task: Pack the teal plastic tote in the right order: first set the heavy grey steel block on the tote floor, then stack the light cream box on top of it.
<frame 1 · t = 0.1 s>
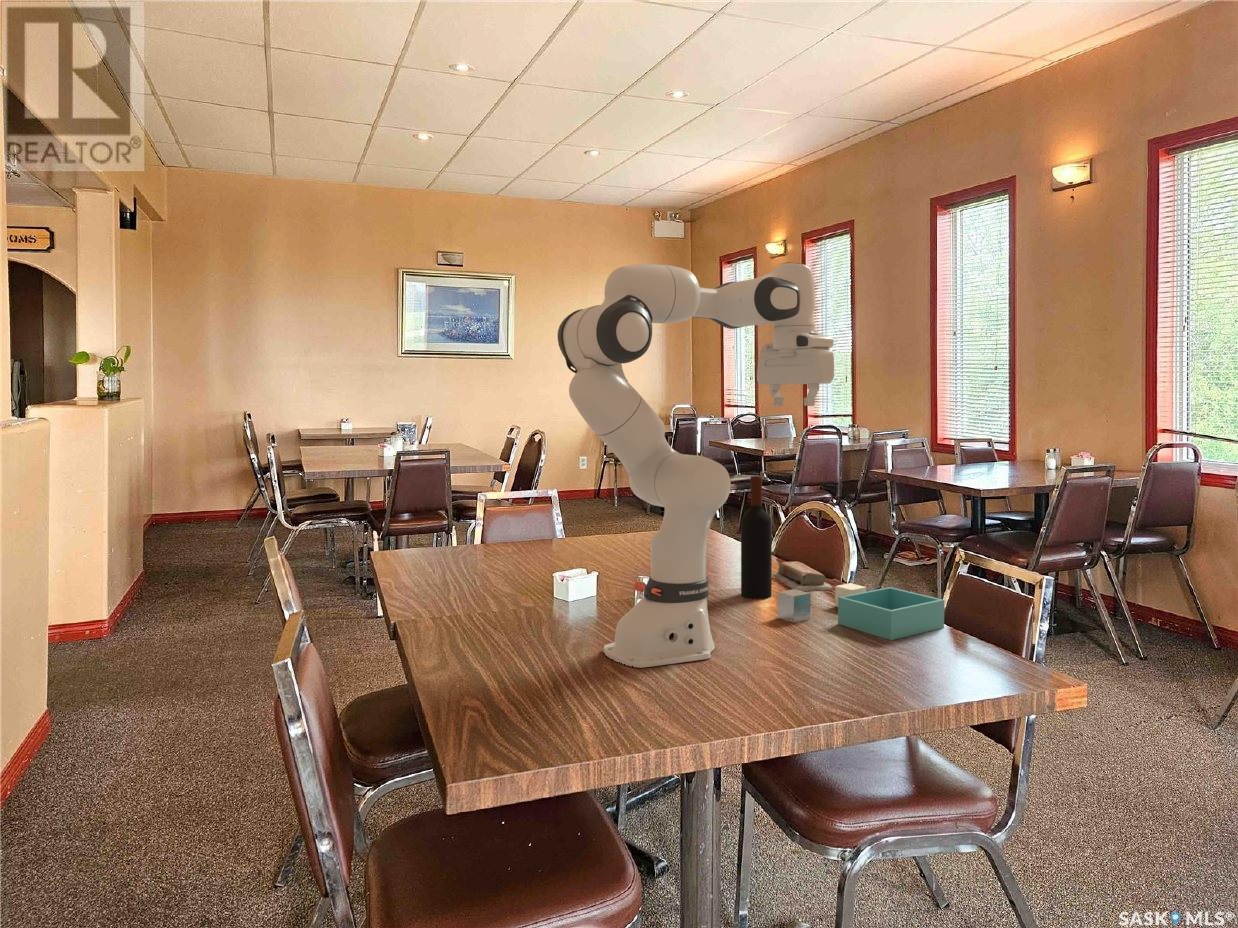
hand: (793, 405, 180), 48 cm above the table, tool pointing down, fingers open, 8 cm apart
steel block: (794, 618, 188), on the table
packaged product: (801, 585, 223), on the table
tote: (890, 625, 182), on the table
cream box: (850, 607, 198), on the table
wine bottle: (756, 596, 210), on the table
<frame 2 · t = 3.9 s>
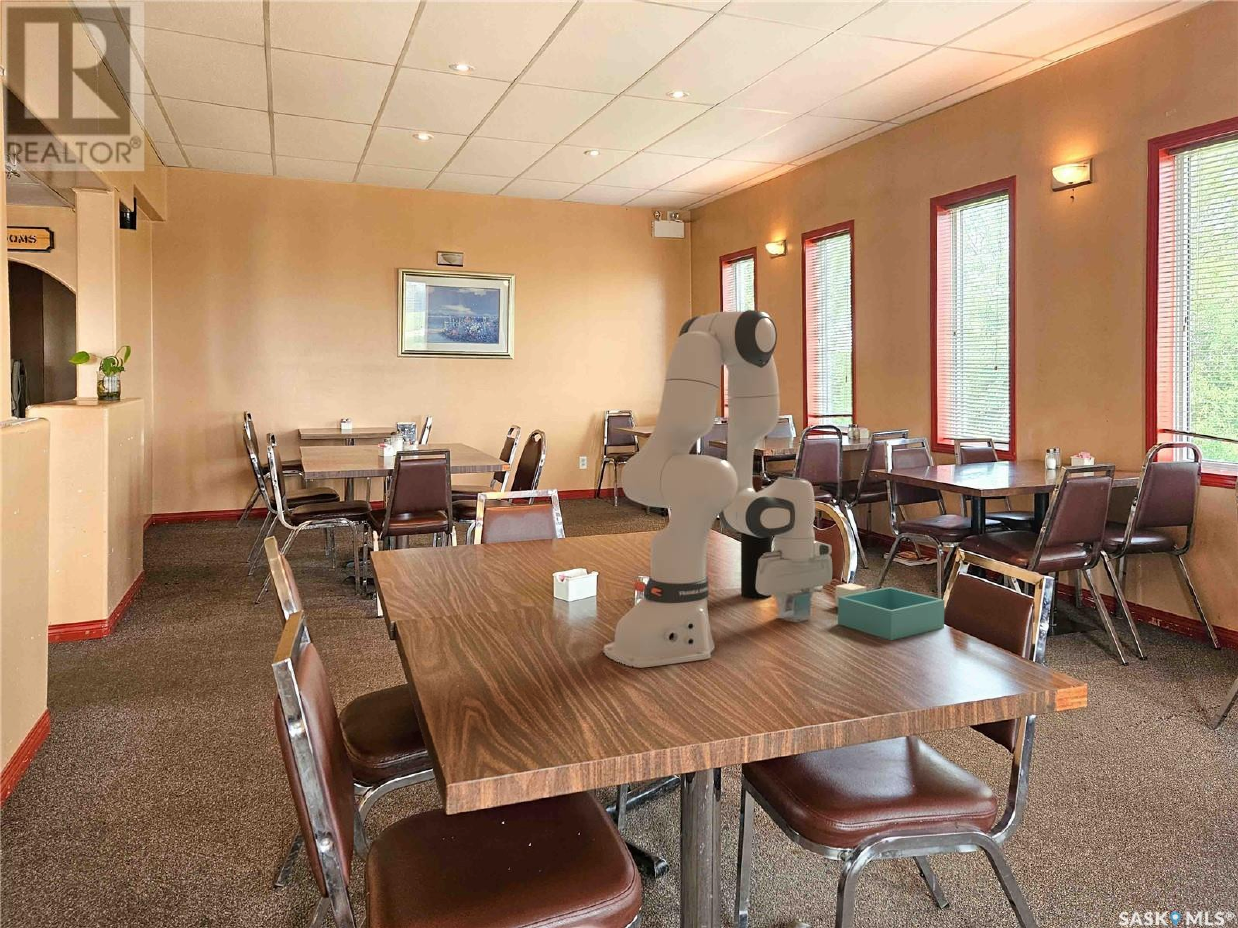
hand: (794, 609, 188), 2 cm above the table, tool pointing down, fingers closed on steel block, 5 cm apart
steel block: (794, 618, 188), on the table, touching gripper
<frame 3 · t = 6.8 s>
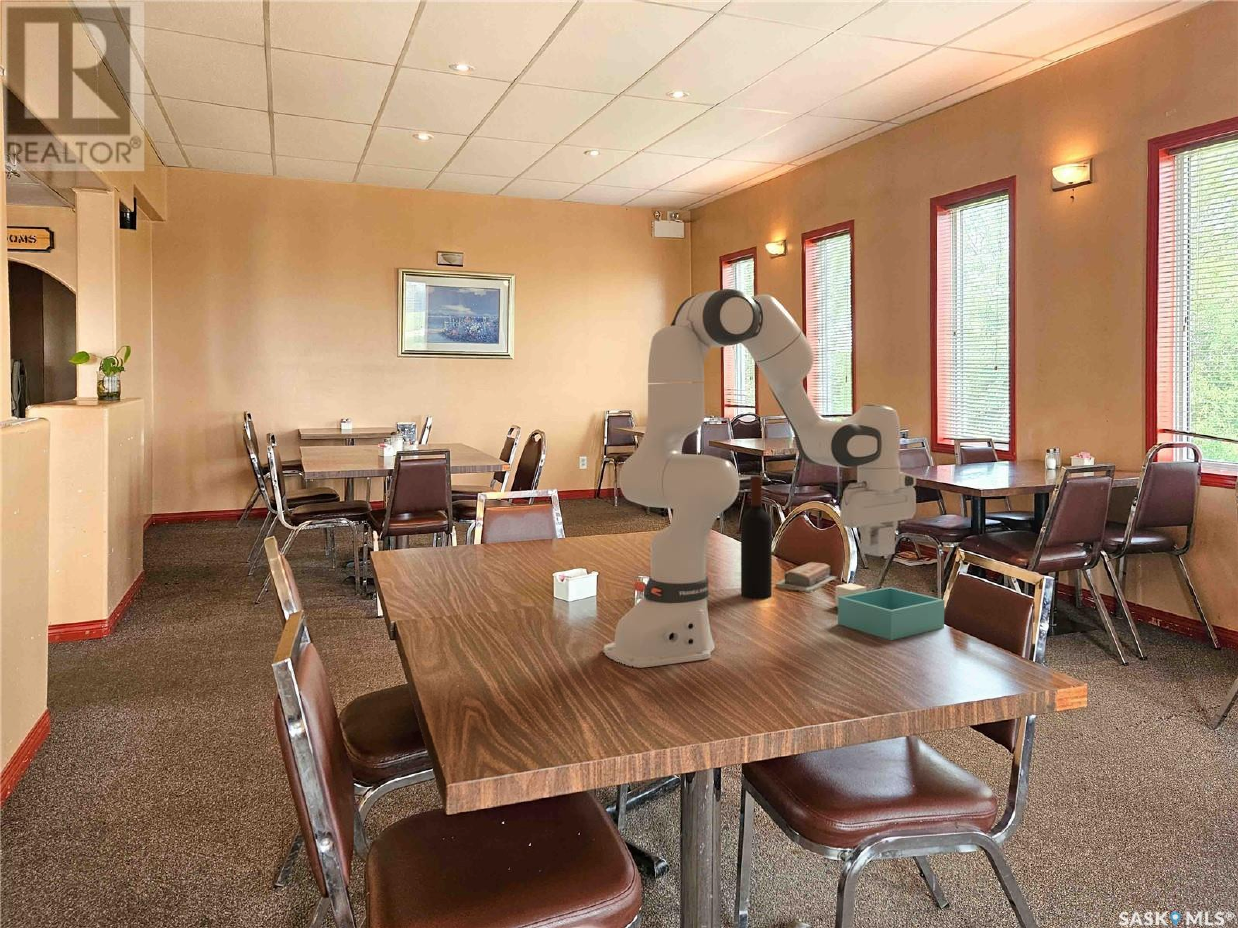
hand: (878, 543, 181), 18 cm above the table, tool pointing down, fingers closed on steel block, 5 cm apart
steel block: (877, 553, 182), point 16 cm above the table, touching gripper
when the fingers open (5 cm above the table, at t = 9.8 s): steel block drops 2 cm, resting on tote.
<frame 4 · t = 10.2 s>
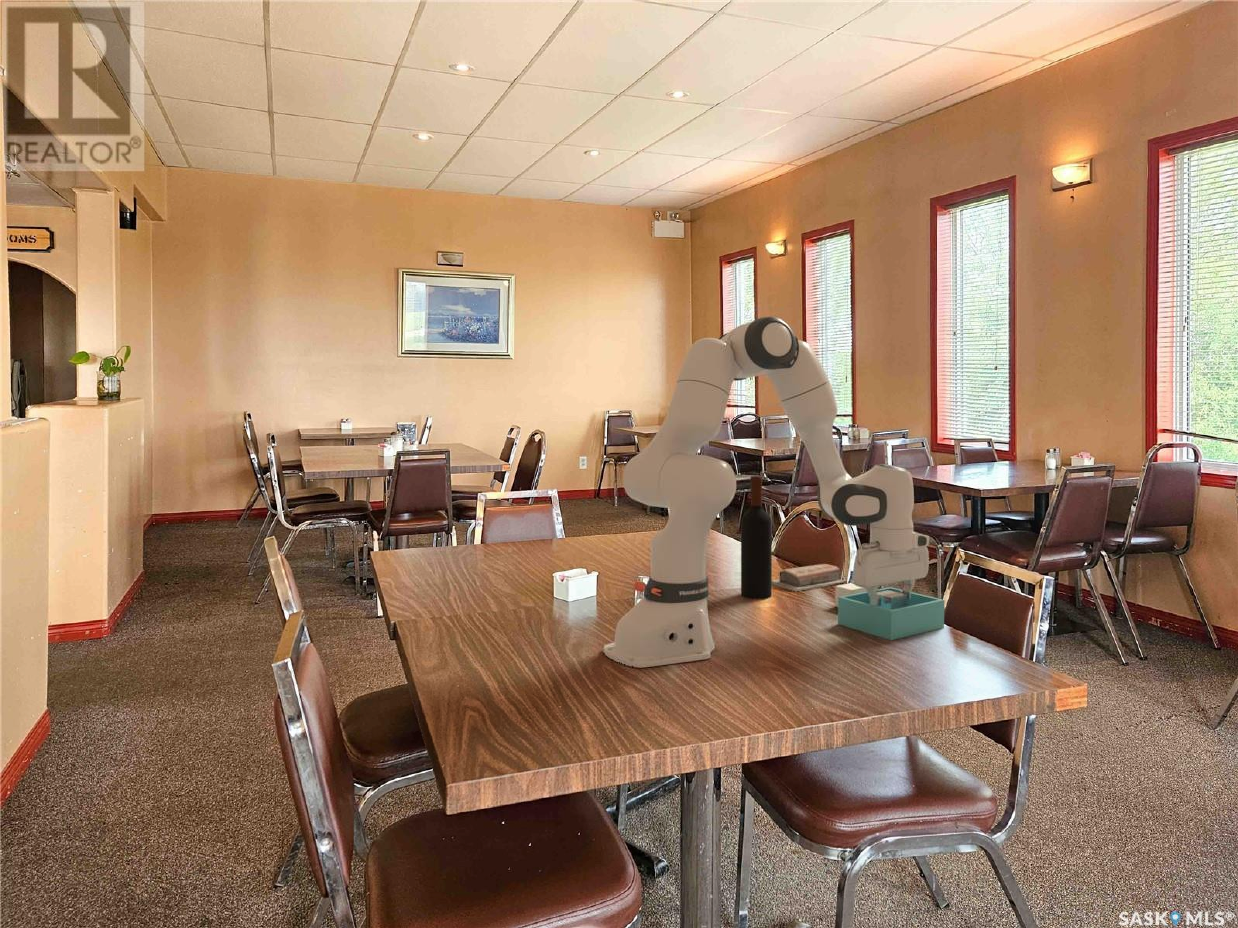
hand: (890, 602, 181), 5 cm above the table, tool pointing down, fingers open, 8 cm apart
steel block: (889, 621, 182), point 1 cm above the table, touching tote
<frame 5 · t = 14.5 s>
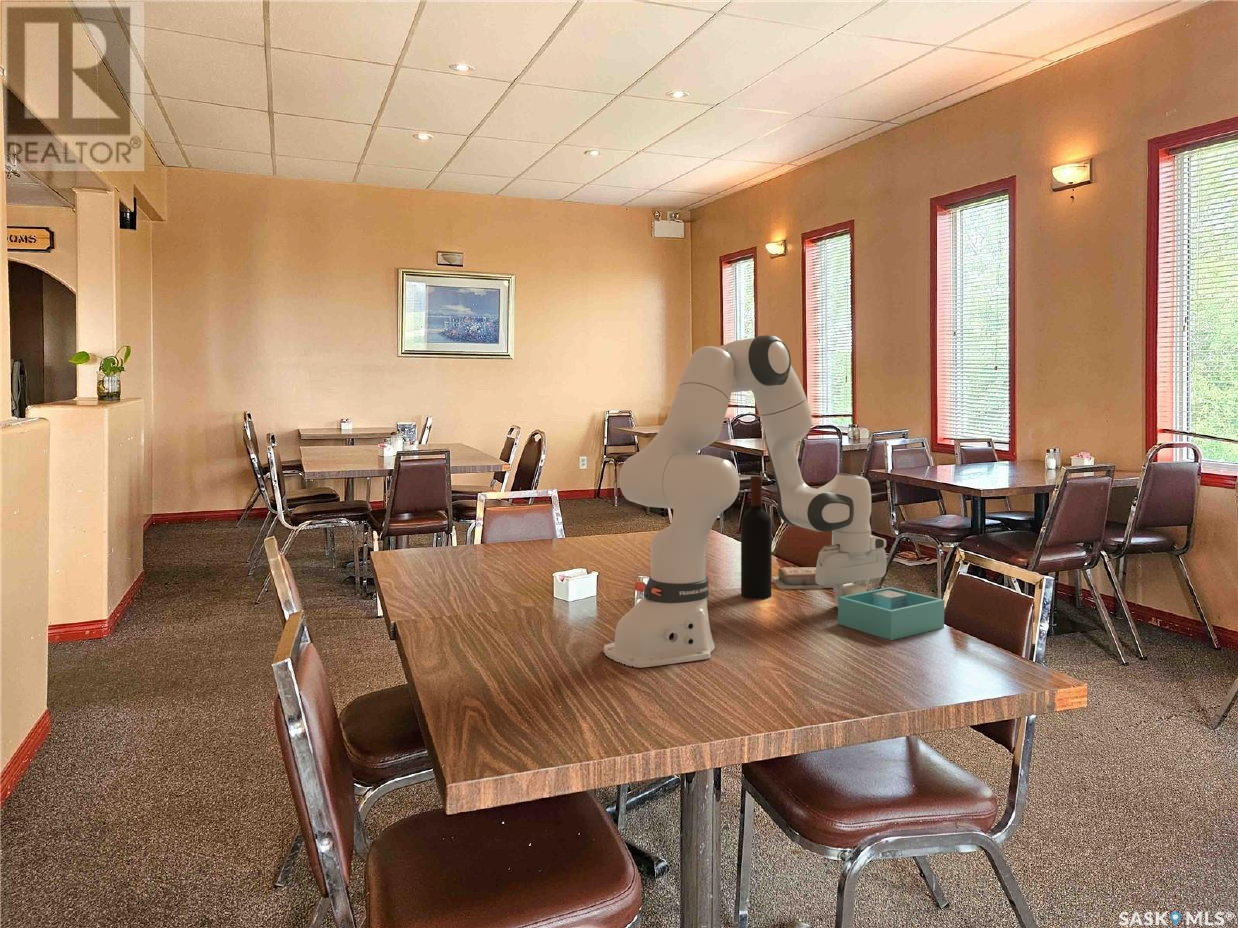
hand: (850, 600, 198), 2 cm above the table, tool pointing down, fingers closed on cream box, 5 cm apart
cream box: (850, 607, 198), on the table, touching gripper
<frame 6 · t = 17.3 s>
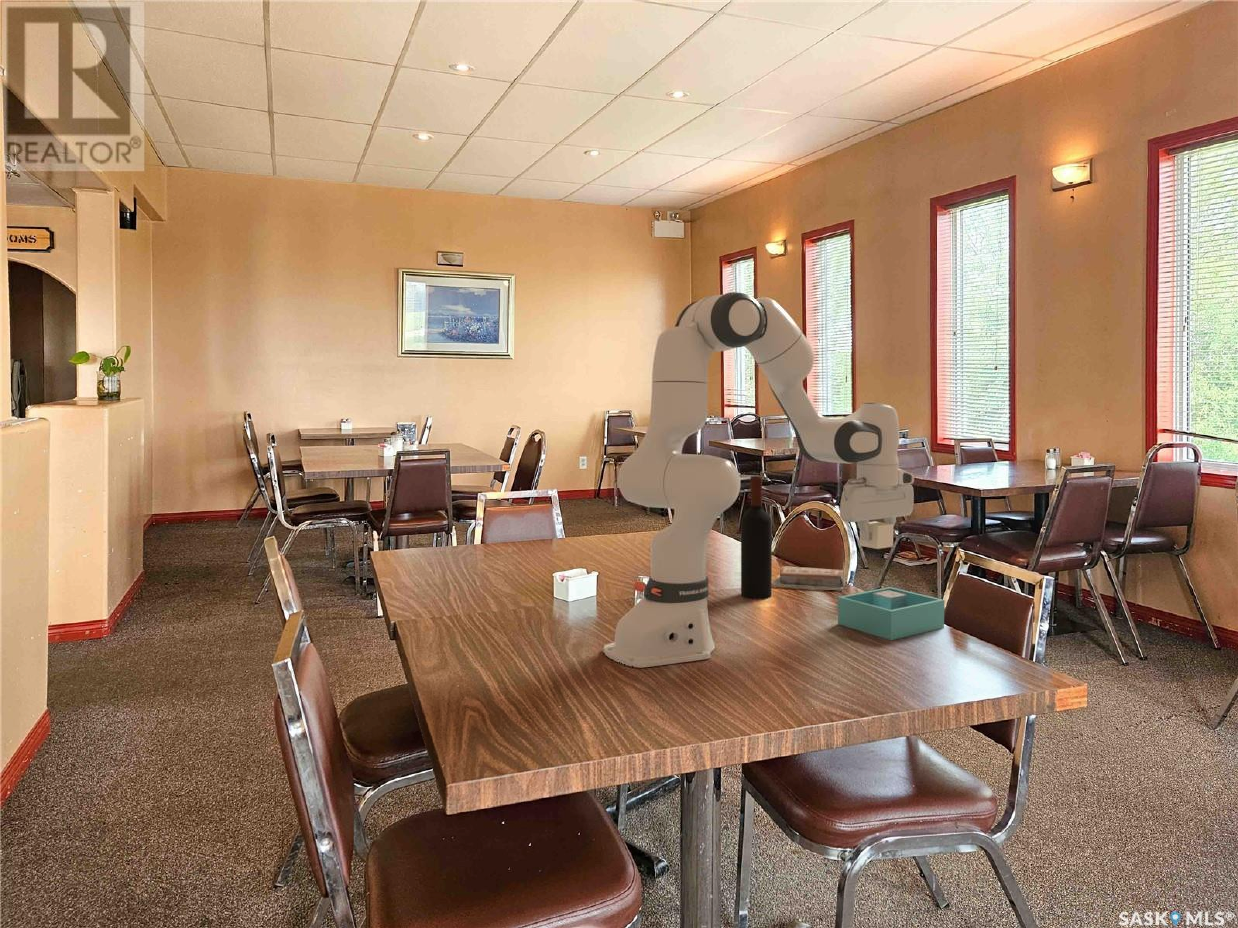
hand: (876, 538, 185), 18 cm above the table, tool pointing down, fingers closed on cream box, 5 cm apart
cream box: (876, 546, 186), point 16 cm above the table, touching gripper
when the fingers open (10 cm above the table, at t = 19.8 s): cream box drops 1 cm, resting on steel block.
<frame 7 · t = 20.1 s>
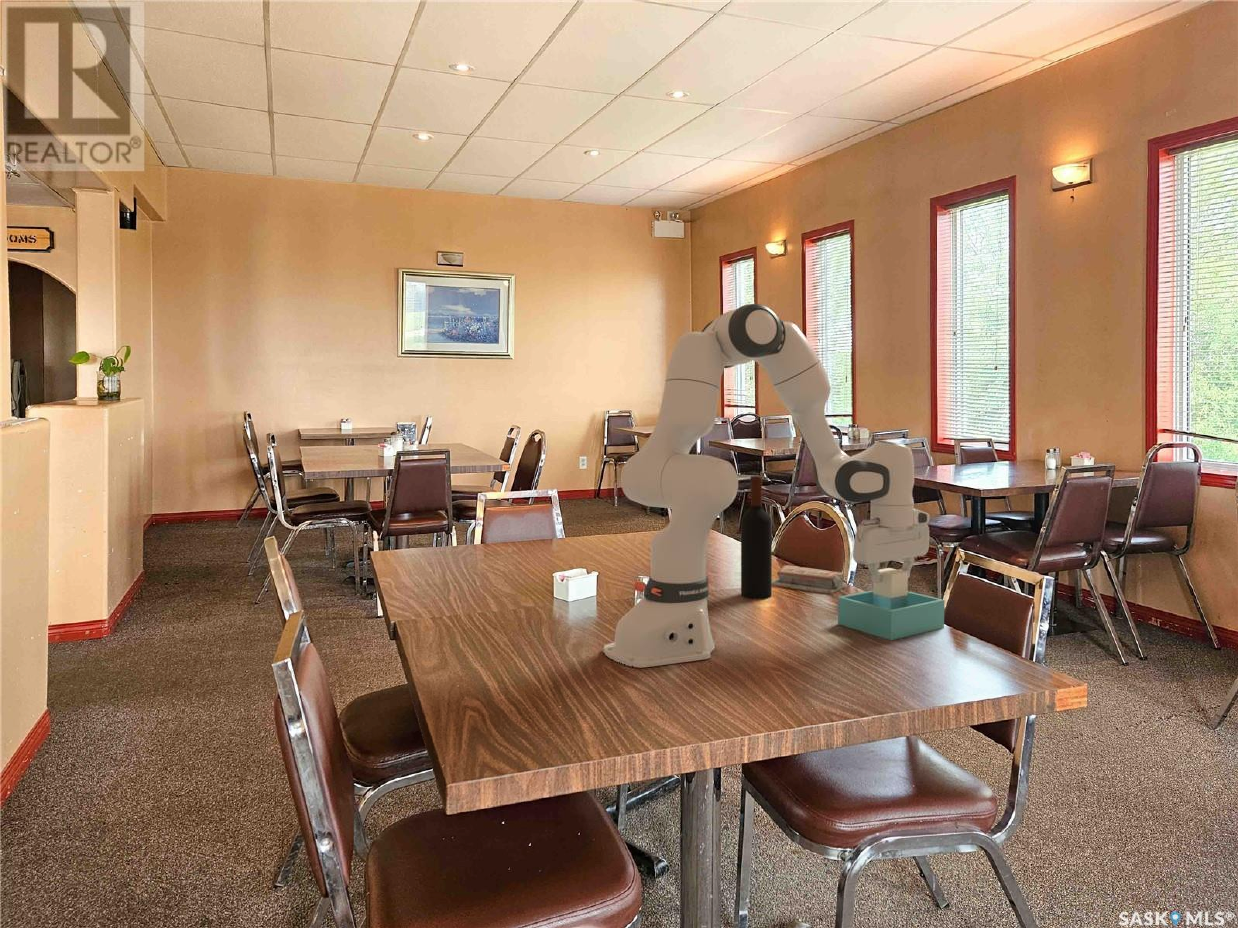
hand: (890, 579, 181), 10 cm above the table, tool pointing down, fingers open, 7 cm apart
steel block: (889, 621, 182), point 1 cm above the table, touching cream box, tote
cream box: (890, 594, 181), point 7 cm above the table, touching steel block
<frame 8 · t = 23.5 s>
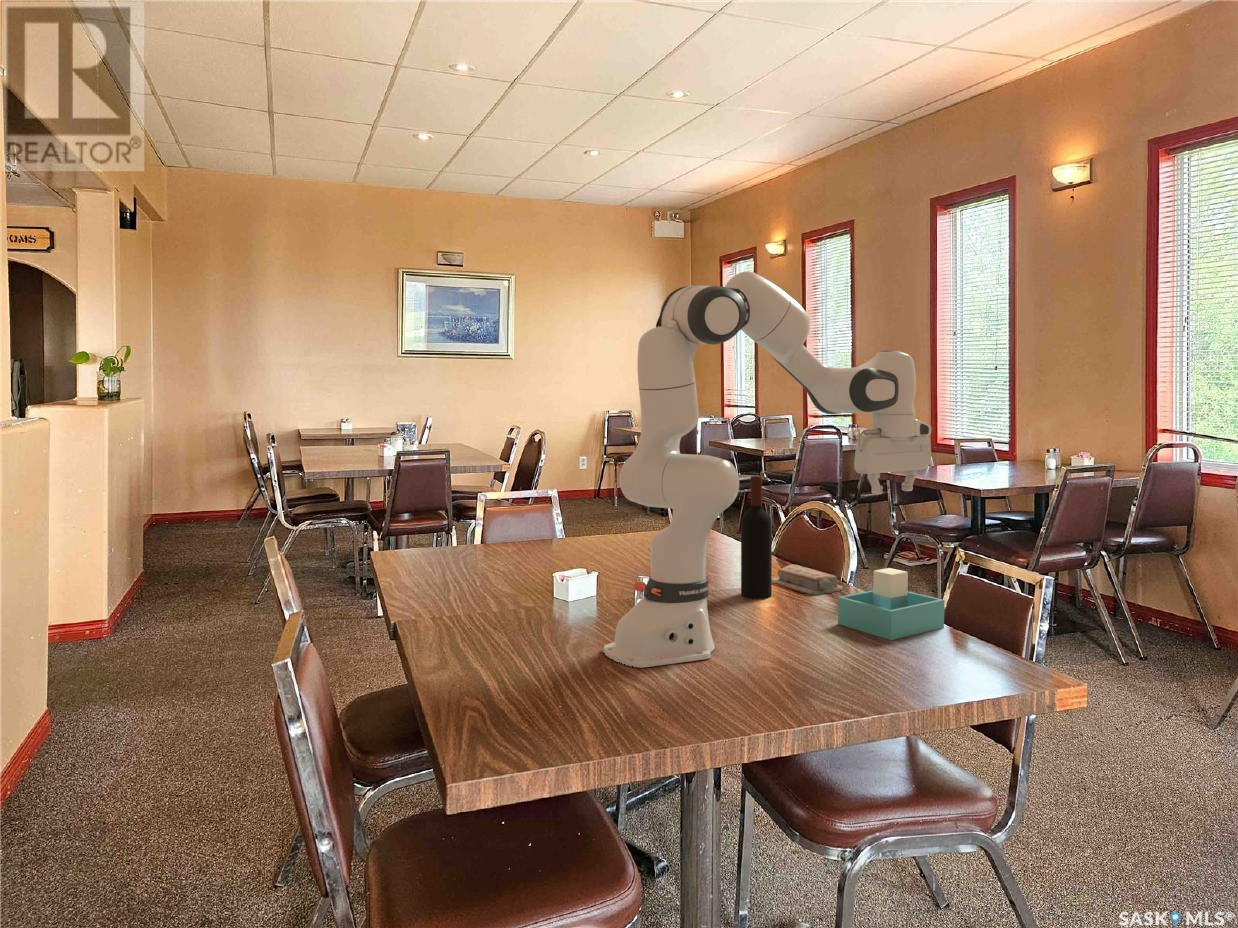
hand: (892, 492, 179), 29 cm above the table, tool pointing down, fingers open, 8 cm apart
at the end: steel block inside the target area on the tote (0.1 cm from its centre), point 1.0 cm above the tote's base; cream box 0.1 cm off-centre on the steel block, point 6.0 cm above the steel block's base; cream box tilted 0° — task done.
